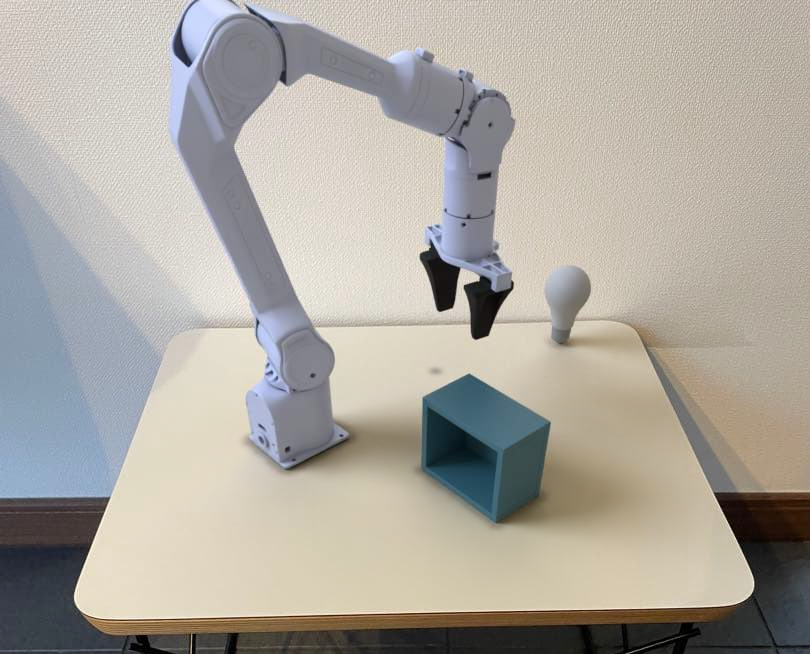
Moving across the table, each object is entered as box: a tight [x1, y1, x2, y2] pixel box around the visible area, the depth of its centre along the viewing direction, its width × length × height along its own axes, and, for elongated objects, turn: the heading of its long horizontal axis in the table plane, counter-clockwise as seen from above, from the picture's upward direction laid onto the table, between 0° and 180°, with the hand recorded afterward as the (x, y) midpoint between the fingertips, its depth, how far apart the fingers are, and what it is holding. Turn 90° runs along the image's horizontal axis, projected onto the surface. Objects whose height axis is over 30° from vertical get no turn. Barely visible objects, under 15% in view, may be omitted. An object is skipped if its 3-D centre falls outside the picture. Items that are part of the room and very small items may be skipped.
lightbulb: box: [544, 264, 592, 344], centre depth 104 cm, size 6×6×11 cm
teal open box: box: [420, 373, 552, 523], centre depth 83 cm, size 7×12×10 cm, turn 41°
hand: (462, 322), depth 92 cm, fingers open, 7 cm apart
